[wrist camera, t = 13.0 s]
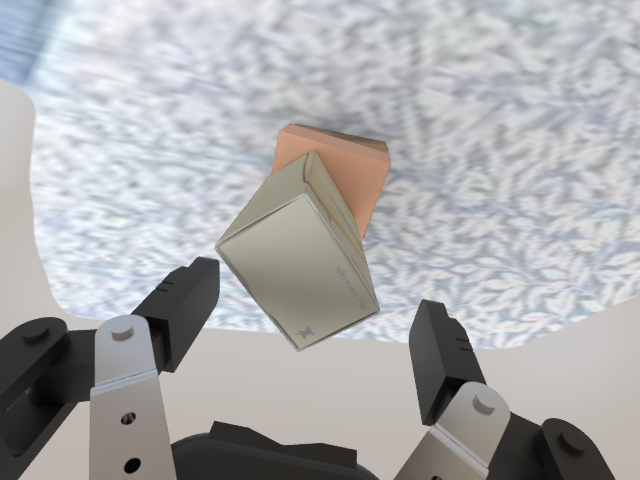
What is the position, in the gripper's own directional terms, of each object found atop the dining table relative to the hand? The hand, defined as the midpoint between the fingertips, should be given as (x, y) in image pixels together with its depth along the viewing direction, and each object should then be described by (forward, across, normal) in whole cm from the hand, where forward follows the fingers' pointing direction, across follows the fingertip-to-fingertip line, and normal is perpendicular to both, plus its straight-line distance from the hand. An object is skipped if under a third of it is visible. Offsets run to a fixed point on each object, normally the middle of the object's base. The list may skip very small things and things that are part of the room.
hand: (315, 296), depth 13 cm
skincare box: (+12, +2, +1) cm, 13 cm away
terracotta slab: (+16, +1, +1) cm, 16 cm away
